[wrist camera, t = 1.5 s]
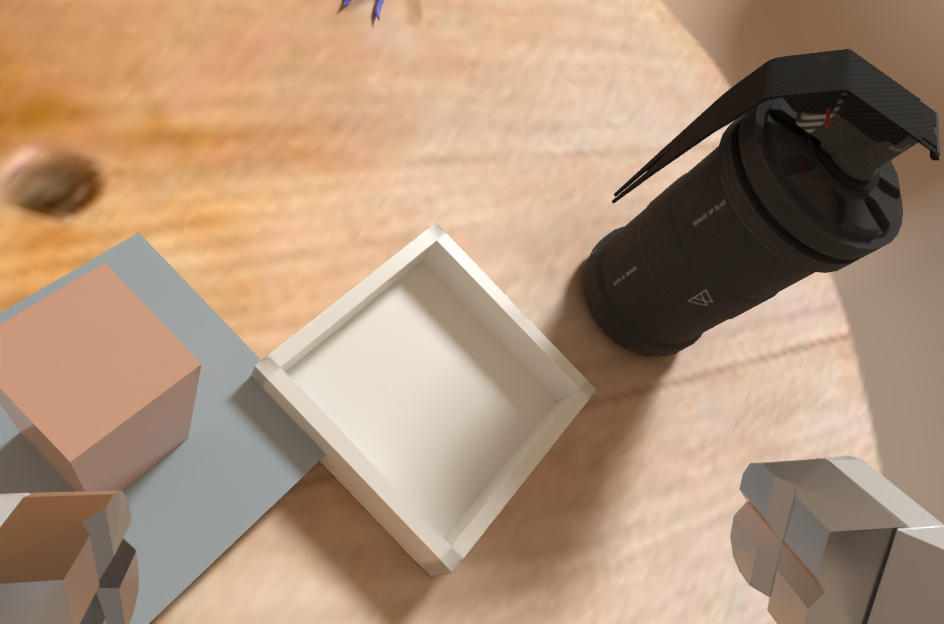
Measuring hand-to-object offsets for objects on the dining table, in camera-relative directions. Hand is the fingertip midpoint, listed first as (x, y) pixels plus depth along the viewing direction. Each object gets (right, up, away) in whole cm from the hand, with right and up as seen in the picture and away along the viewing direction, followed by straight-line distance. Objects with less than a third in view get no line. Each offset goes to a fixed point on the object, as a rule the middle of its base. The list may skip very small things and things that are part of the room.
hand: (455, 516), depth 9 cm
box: (-2, -2, +28) cm, 28 cm away
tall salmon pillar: (-15, -3, +20) cm, 25 cm away
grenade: (+10, +4, +37) cm, 38 cm away
